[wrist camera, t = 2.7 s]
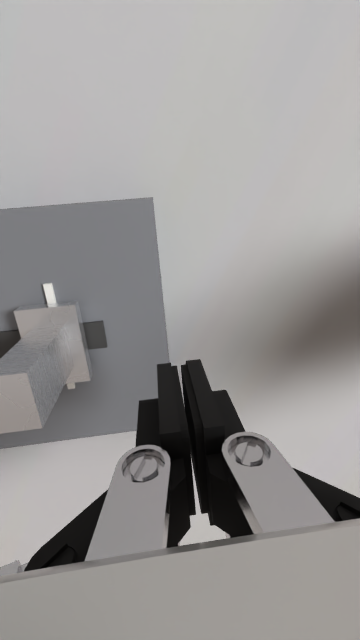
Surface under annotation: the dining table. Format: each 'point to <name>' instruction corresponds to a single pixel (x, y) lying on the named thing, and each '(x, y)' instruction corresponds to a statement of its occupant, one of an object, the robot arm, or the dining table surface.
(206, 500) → the robot arm
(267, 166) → the dining table surface
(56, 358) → the fader
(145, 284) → the console
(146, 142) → the dining table surface
